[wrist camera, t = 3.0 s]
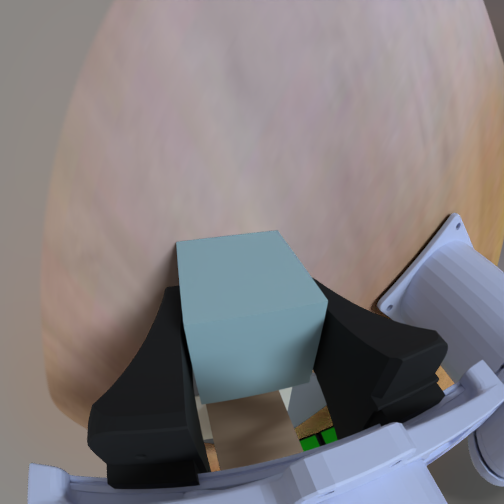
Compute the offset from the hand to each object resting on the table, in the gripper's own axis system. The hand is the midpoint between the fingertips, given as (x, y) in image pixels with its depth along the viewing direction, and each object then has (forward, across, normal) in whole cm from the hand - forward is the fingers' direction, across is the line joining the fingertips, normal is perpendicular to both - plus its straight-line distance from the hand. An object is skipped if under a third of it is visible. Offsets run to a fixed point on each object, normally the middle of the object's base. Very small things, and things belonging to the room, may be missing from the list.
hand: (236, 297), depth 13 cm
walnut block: (+1, 0, +12) cm, 12 cm away
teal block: (+1, 0, 0) cm, 1 cm away
